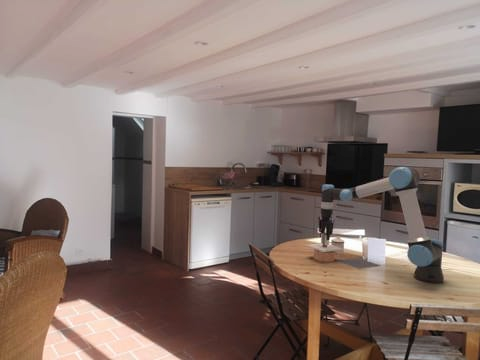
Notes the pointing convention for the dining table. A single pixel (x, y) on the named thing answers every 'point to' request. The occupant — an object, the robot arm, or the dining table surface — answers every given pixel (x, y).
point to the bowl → (324, 256)
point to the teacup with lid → (338, 244)
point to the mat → (359, 263)
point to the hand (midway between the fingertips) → (324, 243)
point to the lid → (324, 246)
